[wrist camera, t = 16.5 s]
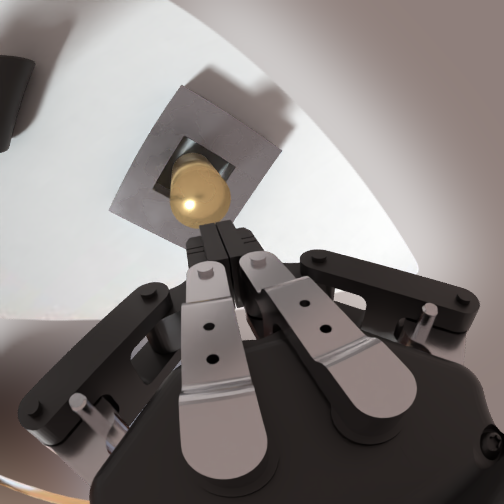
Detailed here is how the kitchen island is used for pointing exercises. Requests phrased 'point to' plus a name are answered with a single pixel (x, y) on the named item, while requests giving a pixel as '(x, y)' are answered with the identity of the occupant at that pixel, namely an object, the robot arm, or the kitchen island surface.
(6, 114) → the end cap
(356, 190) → the kitchen island surface
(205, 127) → the jig
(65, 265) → the kitchen island surface
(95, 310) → the kitchen island surface
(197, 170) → the gold cylinder
